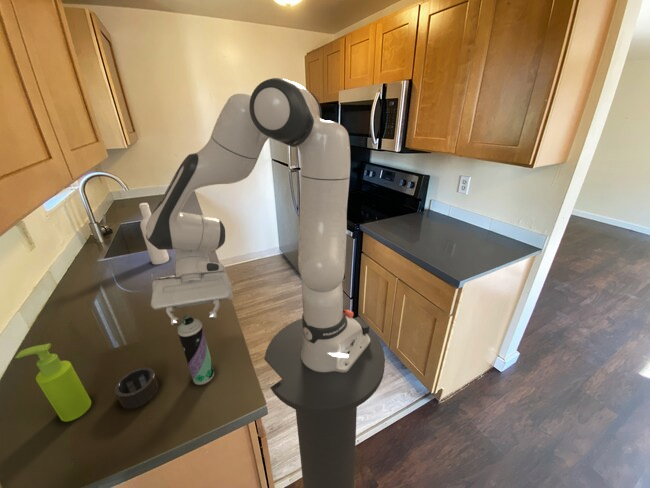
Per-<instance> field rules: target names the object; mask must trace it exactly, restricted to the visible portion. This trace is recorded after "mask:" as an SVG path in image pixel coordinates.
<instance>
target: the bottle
mask: <svg viewBox="0 0 650 488" xmlns="http://www.w3.org/2000/svg"><path fill="white" fill-rule="evenodd" d="M138 206H139V209H140V212H141V216H142V219H141V221H140V224H139V225H140V229H141V233H142V237H143V240H144V243H145V245H146V249H147V252H148V255H149V259H150V262H151V264H153V265H162V264H165V263H167V262H168V261H170V257H169V253H168V249H166V250H159V249H157V248H156V247H154V246H153V245H152V244H151V243H150V242H149V241H148V240H147V238H146V225H147V222H148V220H149V218H150V216H151V214H152V212H151V208H150V205H149V203H148V202H141V203H139V204H138Z"/></svg>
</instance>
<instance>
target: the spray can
mask: <svg viewBox="0 0 650 488" xmlns="http://www.w3.org/2000/svg"><path fill="white" fill-rule="evenodd" d="M177 333H178V337H179V341H180V344H181V347H182V350H183V353H184V356H185V359H186V363H187V366H188V370H189V371H190V372H189V373H190V375H191V379H192V381H193V382H192V383H194V384H195V385H199V386H200V385H201V386H203V385H205V384H208V383H209V382H210V381H211V380H212V379H213V378H214V376H215V369H214V365H213V362H212V357H211V353H210V350H209V347H208V342H207V339H206V334H205V331H204V328H203V323H202V321H201V320H200V319H199V318H195V317H192V316H191V315H185V316H184V317H183V320H182V322H180V323H179V325H177Z"/></svg>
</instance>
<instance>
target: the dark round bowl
mask: <svg viewBox="0 0 650 488" xmlns="http://www.w3.org/2000/svg"><path fill="white" fill-rule="evenodd" d="M159 388H160V384H159V381H158V379H157V376H156V373H155V371H154V369H153V368H150V367H140V368H136V369H133V370H131V371H129V372H127V373H126V374H125V375H124V376H121V378H120V379H119V380H118V381H117V383H116V384H115V386H114V393H115V396H116V398H117V400H118V402H119V404H120V405H121V407H122V408H123V409H126V410H132V409H137V408H140V407H142V406H145V405H146V404H147V403H149V402H150V401H151V400H152V399H153V398H154V397H155V396H156V395H157V393H158V391H159Z"/></svg>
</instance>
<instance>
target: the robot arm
mask: <svg viewBox="0 0 650 488" xmlns="http://www.w3.org/2000/svg"><path fill="white" fill-rule="evenodd" d="M322 114H323V113H322V107H321V104H320V102H319V100H318V98H317V97H316V95H315V94H314V93H313V92H311V91H310V90H308V89H306V88H305V86H303V85H301V84H300V83H297V82H295V81H292V80H289V79H286V78H283V77H272V78H269V79H266V80H263V81H261V82H260V83H259V84H258V85H256V87H255V88H254V89H253V92H252V93H251V95H250V94H247V93H235V94H233V95H231V96H229V97H228V99H227V100H226V102H225V104H224V106H223V107H222V109H221V111H220V113H219V115H218V117H217V119H216V121H215V124H214V126H213V129H212V131H211V135H210V136H209V140H208V141H207V142H206V144H205V145H204V146H202V148H201V149H200V150H198V151H197V152H194V153H189V154H188V155H186V157H185V158H184V160H183V161H182V162H181V164H180V165H179V167H178V168H177V170H176V172H175V174H174V176H173V177H172V179H171V181H170V183H169V184H168V187H167V188H166V191H165V193H164V194H163V196H162V198H161V199H160V201H159V203H158V205H157V206H156V207H155V208H154V210H153V212H151V216H150V218H149V220H148V222H147V225H146V238H147V240H148V241H149V242H150V243H151V244H152V245H153V246H154V247H156V248H157V249H159V250H166V249H167V250H175V252H176V258H175V261H174V263H175V264H174V265H175V269H174V271H175V272H174V273H173V274H168V275H167V274H166V275H159V276H158V277H156V278H155V279H154V280H153V281H152V283H151V289H152V293H151V300H150V307H151V308H152V309H153V310H154V311H160V312H161V311H165V313H166V314H167V315H168V317H169V318H170V325H171V326H179V324H180V317H178V316H175V314H174V313H175V311H176V309H179V308H185V307H193V306H198V305H203V304H204V305H205V304H210V303H213V305H214V307H213V309H212V310H211V311H209V312H208V314H209V320H215V319H217V318H218V315H217V314H218V313H217V312H218V311H219V309H220V307H221V302H223V301H229V300H232V298H233V297H234V291H233V290H234V289H233V286H232V282H231V279H230V278H229V276H228V274H227V273H228V272H227V268H226V267H225V265H224V264H222V263H219V262H213V261H210V257H209V254H210V253H214V252H215V251H217V250H218V249H220V248H221V247H222V246H223V245H225V242H226V228H225V225H224V223H223V222H222V220H221V219H220V218H218V217H215V216H211V215H203V214H197V213H196V214H195V213H189V212H182V210H183V208H184V206H185V205H186V203H187V201H188V199H189V198H190V196H191V195H192V193H193V192H194V191H196V190H198V189H201V188H204V187H208V186H216V185H231V184H235V183H239V182H241V181H243V180H245V179H247V178H249V176H250V175H251V173H252V172H253V171H254V169H255V167H256V164H257V162H258V160H259V157H260V155H261V153H262V150H263V148H264V146H265V143H267V141H268V139H271V140H273V141H276V142H279V143H281V144H283V145H286V146H289V147H291V148H297V149H298V152H299V156H300V172H299V173H300V176H299V177H300V180H299V181H300V182H299V219H298V220H299V222H298V223H299V224H298V254H297V255H298V257H297V263H298V264H297V267H298V273H299V275H300V277H301V299H302V315H301V319H302V326H303V333H304V336H303V345H302V349H301V359H302V361H303V363H304V364H305V365H306V366H307V367H308V368H310V369H312V370H314V371H318V372H332V371H337V372H342V373H345V372H347V371H348V370H349V369H350V368H351V366H352V365H353V364H354V363H355V361H356V360H357V359H358V358H359V356H360V355H361V354H362V352H363V351H364V350H365V349H366V347H367V346H368V345H369V344H370V338H369V336H368V334H367V333H369V330H370V326H369V324H367V322H366V321H364V319H362V318H361V317H360V316H357V317H354V314H355V313H354V311H351V310H350V309H345V308H344V289H343V281H344V277H345V272H346V262H347V241H348V240H347V239H348V238H347V237H348V236H347V235H348V234H347V233H348V230H347V229H348V227H347V226H348V220H347V219H348V215H347V214H348V200H349V188H350V179H351V178H350V177H351V144H350V135H349V132H348V131H347V129H346V128H345V127H344V126H343V125H342V124H340V123H338V122H336V121H332V120H325V119H323V118H322Z"/></svg>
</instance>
